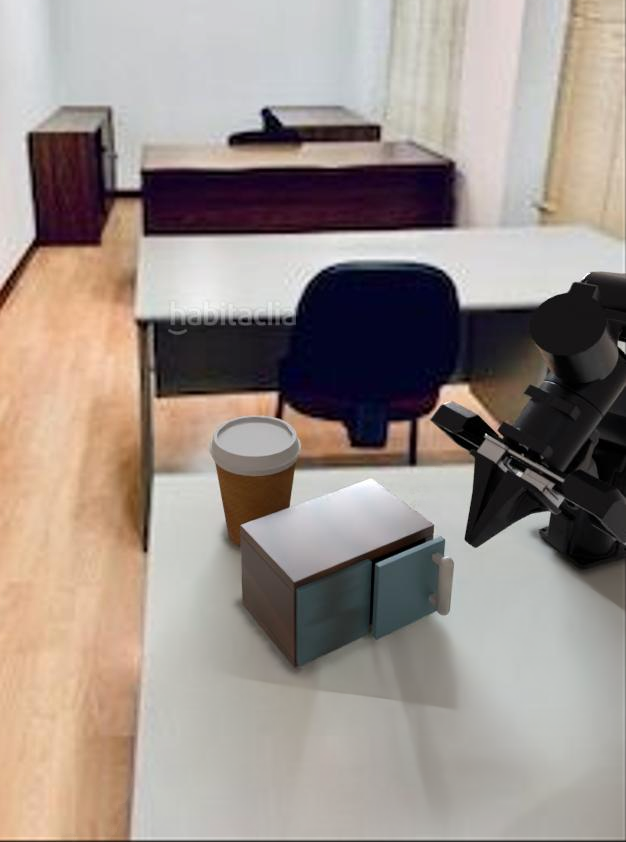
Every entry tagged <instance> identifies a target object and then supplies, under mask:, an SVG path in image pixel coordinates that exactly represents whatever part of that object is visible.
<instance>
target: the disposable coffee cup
mask: <svg viewBox="0 0 626 842" xmlns="http://www.w3.org/2000/svg"><path fill="white" fill-rule="evenodd" d="M208 448H209V453H210V456H211V458H212V460H213V461H214V464H215V469H216V475H217V480H218V486H219V491H220V498H221V502H222V507H223V513H224V518H225V524H226V529H227V536H228V538H229V540H230V541H231V543H232V544H233V545H235V546H237V547H239V548H241V541H240V525H242V524H245V523H247V522H250V521H253V520H256V519H258V518H261V517H264V516H267V515H270V514H272V513H275V512H278V511H281V510H284V509H286V508H289V507H291V500H292V491H293V485H294V478H295V472H296V471H295V470H296V466H297V465H296V464H297V460H298V458H299V456H300V454H301V450H302V443H301V439H300V438H299V437H298V434H297V431H296V429H295V428H294V426H293V425H291V424H290V423H288V422H287V421H286V420H283V419H280V418H277V417H275V416H267V415H257V414H255V415H254V414H253V415H243V416H238V417H235V418H231V419H229V420H226V421H224V422H222V423H221V424H220V425H219V426H217V427H216V429H215V430H214V432H213V436H212V438H211V440H210V442H209V447H208Z"/></svg>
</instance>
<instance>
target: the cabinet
mask: <svg viewBox="0 0 626 842" xmlns="http://www.w3.org/2000/svg"><path fill="white" fill-rule="evenodd" d="M434 534H435V524H434V523H432V522H431V521H430V520H429V519H427V518H426V517H424V516H423V515H422V514H420V513H419V512H418V511H416V510H415V509H414V508H412V507H411V506H410V505H408V504H407V503H405V502H404V501H403V500H401V499H400V498H399V497H397V495H395V494H393V492H391V491H390V490H388V489H387V488H385V487H384V486H383V485H382V484H380V483H379V482H377V481H376V480H375V479H374V478H367V479H364V480H362V481H358V482H356V483H354V484H351V485H348V486H346V487H343V488H340V489H337V490H334V491H331V492H329V493H328V492H327V493H325V494H322V495H320V496H318V497H317V496H316V497H314V498H312V499H309V500H306V501H303V502H301V503H298V504H295V505H293V506H290V507H289V508H286V509H284V510H281V511H278V512H275V513H272V514H270V515H267V516H264V517H261V518H258V519H256V520H253V521H250V522H247V523H245V524H242V525H240V541H241V547H240V568H241V569H240V570H241V604H242V606H243V607H244V609H246V611H247V612H248V613H249V614H250V616H251V617H252V618H253V619H254V621H255V622H256V623H257V624H258V626H259V627H260V628H261V630H262V631H263V632H264V633H265V634H266V636H267V637H268V638H269V639H270V641H271V642H272V643H273V645H275V647H276V648H277V649H278V651H279V652H280V653H281V654H282V656H283V657H284V658H285V659H286V660H287V661H288V663H289V664H290V665H291V666H292V668H293V669H296V668H298V667H299V668H301V667H303V666H305V665H307V664H309V663H312V662H313V661H315V660H318V659H320V658H322V657H324V656H326V655H329V654H331V653H333V652H335V651H337V650H338V649H341V648H344V647H345V646H347V645H349V644H351V643H354V642H355V641H358V640H360V639H362V638H364V637H367V636H368V635H369V634H370V633H372V622H373V600H374V578H375V564H376V563H378V562H380V561H383V560H385V559H388V558H390V557H392V556H395V555H397V554H399V553H402V552H404V551H407V550H409V549H411V548H414V547H416V546H418V545H421V544H423V543H426V542H428V541H430V540H433V539H434V536H435V535H434Z"/></svg>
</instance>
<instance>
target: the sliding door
mask: <svg viewBox="0 0 626 842" xmlns="http://www.w3.org/2000/svg"><path fill="white" fill-rule="evenodd" d="M445 551H446V538H444V536H441V535H440V536H437V537H435V538H433V540H430V541H428V542H426V543H423V544H421V545H418V546H416V547H414V548H411V549H409V550H407V551H404V552H402V553H399V554H397V555H395V556H392V557H390V558H388V559H385V560H383V561H380V562H378V563H376V564H375V578H374V600H373V622H372V632H371V637H372V638H373V639H374V640H375V641H378V640H379V639H381V638H384V637H386V636H388V635H390V634H392V633H394V632H396V631H398V630H400V629H402V628H405V627H406V626H409V625H411V624H413V623H415V622H417V621H419V620H421V619H423V618H426V617H428V616H429V615H432V614H434V613H436V612H437V613H438V615H440V616H447V615H448V614H449V613H450V611H451V603H452V602H451V601H452V590H453V581H454V570H455V569H454V568H455V561H454V559H453V558H452V557H451V556H448V555H447V556H445Z"/></svg>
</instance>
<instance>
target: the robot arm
mask: <svg viewBox="0 0 626 842" xmlns="http://www.w3.org/2000/svg"><path fill="white" fill-rule="evenodd" d="M528 324H529V333H530V336H531V339H532V341H533V342H534V345H535V347H536V348H537V350H538V352H539V353H540V355H541V357H542V359H543V361H544V363H545V364H546V366H547V368H548V369H549V372H548V374H547V375H546V376H545V378H544V379H543V380H542V382H541V383H540V384H539V386H538V387H537V386H535V385H533V384H531V383H529V384H528V386H527V388H526V389H525V390H524V392H523V394H524V396H525V397H526V398H527V399H528V402H527V403H526V405H525V406H524V407H523V408H522V410H521V412H520V413H519V414H518V416H516V418H515V420H514V421H513V422H512V424H509V423H508V422H506V421H502V423H501V424H500V426H499V427H498V428H497V430H496V431H497V432H498V433H497V432H496V431H495V430H494V429H493V428H492V427H491V426H490V425H489V423H487V422H486V421H485V419H483V417H482V416H480V414H477V413H476V412H474V411H472V410H470V409H469V408H467V407H465V406H462V405H461V404H459V403H457V402H455V401H453V400H451V401H448V402H444V403H441V405H439V407H438V408H437V409H436V411H435V412H434V414H433V415H432V416H431V418H429V421H430V422H431V423H433V424H434V426H436V427H437V428H438V429H439V430H440V431H441V432H442V433H443V434H445V435H446V436H447V438H449V439H450V440H451V441H452V442H453V443H454V444H456V445H457V446H459V447H460V448H461V449H463V450H465V451H466V452H468V455H469V456H470V457H471V458H473V459H474V465H473V480H472V492H471V498H470V504H469V509H468V514H467V521H466V527H465V533H464V537H463V539H464V541H465V542H466V543H467V544H468V545H469V546H471V547H472V548H474V549H477V548H479V547H480V546H482V545H483V544H486V542H488V541H489V540H491V539H492V538H494V537H496V536H497V535H498V534H500V533H502V532H503V531H505V530H506V529H508V528H509V527H511V526H512V525H514V524H515V523H517V522H518V521H520V520H523V519H524V518H526V517H528V516H531V515H534V514H538V513H539V514H540V513H545V512H550V514H549V521H548V525H546V526H542V527H539V529H538V534H539V535H540V536H541V538H542V539H544V540H546V542H548V543H549V544H550V545H551V546H552V547H553V548H555V550H557V551H558V552H559V553H561V554H562V555H563V556H564V557H565V558H567V559H568V560H569V561H571V563H572V564H574V565H575V566H576V567H577V568H578V569H582V570H585V569H588V568H592V567H596V566H599V565H602V564H607V563H609V562H610V563H611V562H613V561H616V560H620V559H623V558H626V353H625V351H624V350H622V349H621V347H619V343H624V344H626V272H625V273H623V272H622V273H620V272H613V271H611V272H610V271H589V272H588V273H586V274H585V275H584V276H583V277H582V279H581V280H580V281H573V282H572V283H571V285H570V287H569V289H568V290H567V292H566V291H565V292H563V293H559V294H556V295H553V296H551V297H549V298H547V299H545V300H544V301H543V302H542V303H540V304H539V306H538V307H537V308H534V310H533V311H532V314H531V316H530V320H529V323H528ZM501 436H502V437H501ZM518 473H521V475H518Z"/></svg>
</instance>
